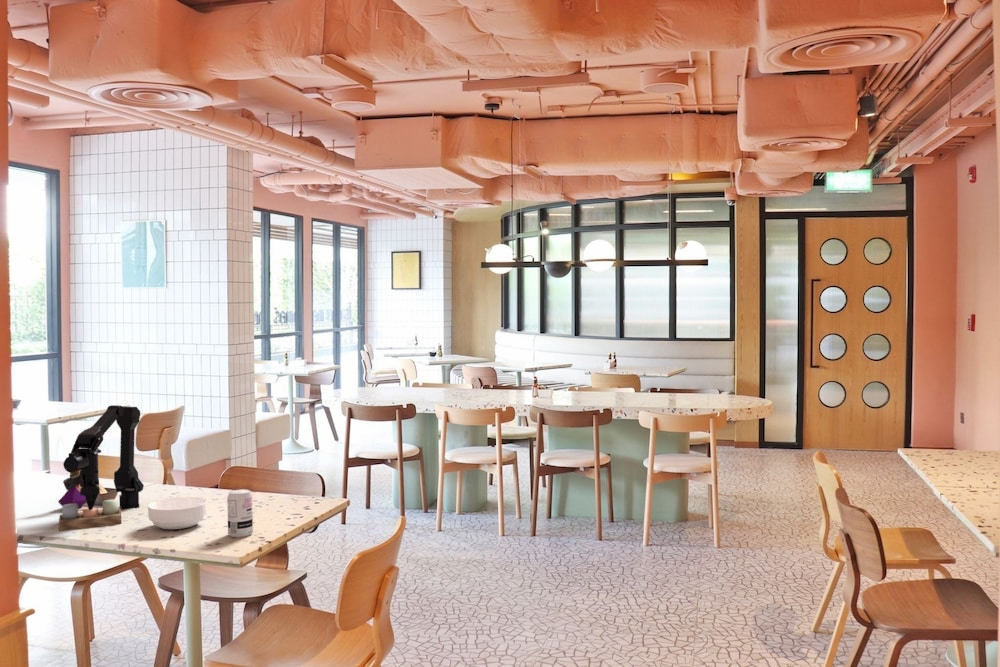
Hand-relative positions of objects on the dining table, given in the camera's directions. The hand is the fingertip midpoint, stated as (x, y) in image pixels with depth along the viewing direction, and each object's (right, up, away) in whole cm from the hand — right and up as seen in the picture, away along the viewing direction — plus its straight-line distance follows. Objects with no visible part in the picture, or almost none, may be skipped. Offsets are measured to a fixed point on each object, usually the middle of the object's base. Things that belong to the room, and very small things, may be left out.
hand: (90, 509), depth 294 cm
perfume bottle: (-18, -5, +22) cm, 29 cm away
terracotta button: (0, -5, 0) cm, 5 cm away
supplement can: (+60, -5, -16) cm, 63 cm away
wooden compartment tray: (0, -5, 0) cm, 5 cm away
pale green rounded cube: (+6, -2, +3) cm, 7 cm away
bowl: (+34, -5, -5) cm, 35 cm away
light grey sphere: (-6, -3, -3) cm, 7 cm away
